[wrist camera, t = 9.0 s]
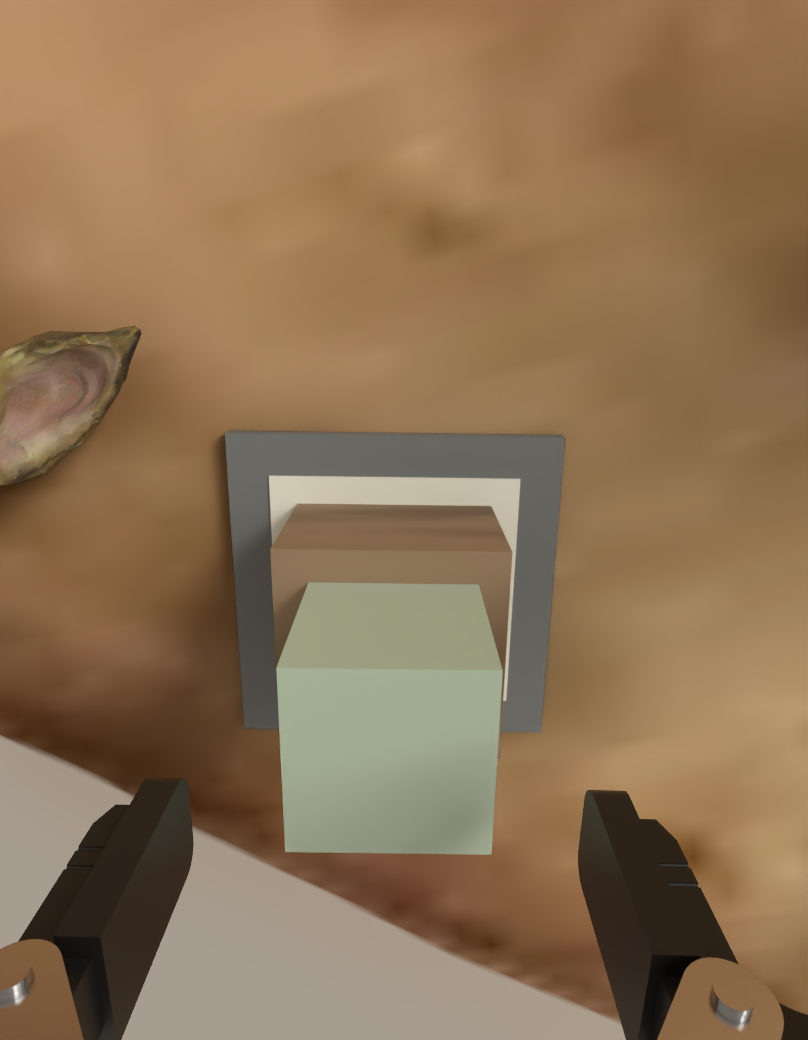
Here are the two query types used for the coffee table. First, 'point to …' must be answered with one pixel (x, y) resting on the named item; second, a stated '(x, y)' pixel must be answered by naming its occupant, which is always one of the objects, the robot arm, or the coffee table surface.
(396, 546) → the walnut base block
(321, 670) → the sage cube
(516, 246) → the coffee table surface
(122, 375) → the ceramic sculpture
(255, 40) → the coffee table surface
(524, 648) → the mat
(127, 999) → the robot arm
